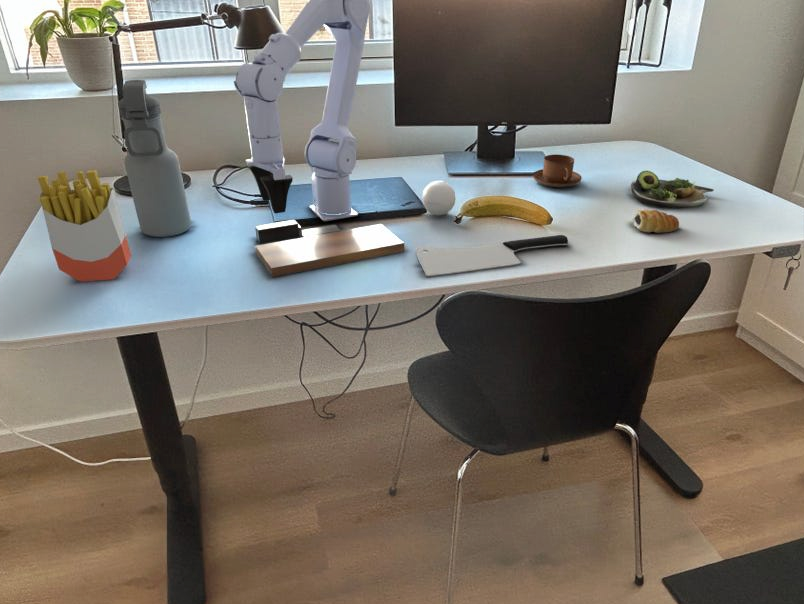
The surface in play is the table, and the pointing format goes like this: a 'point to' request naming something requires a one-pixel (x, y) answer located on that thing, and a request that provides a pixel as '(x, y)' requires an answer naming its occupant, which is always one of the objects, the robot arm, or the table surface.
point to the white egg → (438, 198)
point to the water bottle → (152, 165)
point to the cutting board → (328, 249)
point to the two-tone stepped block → (288, 231)
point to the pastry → (655, 221)
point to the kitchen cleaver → (480, 255)
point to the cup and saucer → (557, 172)
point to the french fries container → (84, 227)
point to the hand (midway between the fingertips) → (273, 205)
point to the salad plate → (667, 191)
